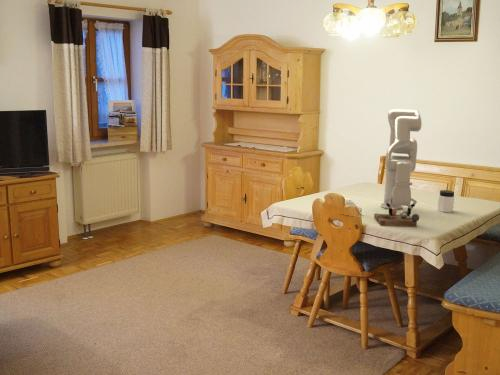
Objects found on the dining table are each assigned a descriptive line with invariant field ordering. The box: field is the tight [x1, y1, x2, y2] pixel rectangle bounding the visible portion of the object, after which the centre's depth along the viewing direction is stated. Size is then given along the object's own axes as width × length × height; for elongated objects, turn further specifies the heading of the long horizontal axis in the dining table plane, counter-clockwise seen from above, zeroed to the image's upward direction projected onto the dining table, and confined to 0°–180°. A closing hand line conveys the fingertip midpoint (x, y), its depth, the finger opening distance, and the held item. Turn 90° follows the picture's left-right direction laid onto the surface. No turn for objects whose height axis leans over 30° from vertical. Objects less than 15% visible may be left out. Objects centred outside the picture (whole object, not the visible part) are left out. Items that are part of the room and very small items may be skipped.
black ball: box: [411, 213, 420, 222], centre depth 299 cm, size 4×4×4 cm
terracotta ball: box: [392, 208, 398, 215], centre depth 312 cm, size 4×4×4 cm
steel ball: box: [399, 210, 408, 218], centre depth 305 cm, size 4×4×4 cm
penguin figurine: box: [344, 197, 363, 213], centre depth 322 cm, size 6×8×12 cm
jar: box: [437, 189, 455, 213], centre depth 337 cm, size 9×8×12 cm
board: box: [373, 213, 418, 228], centre depth 306 cm, size 16×19×2 cm
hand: (399, 215), depth 305 cm, fingers open, 9 cm apart
